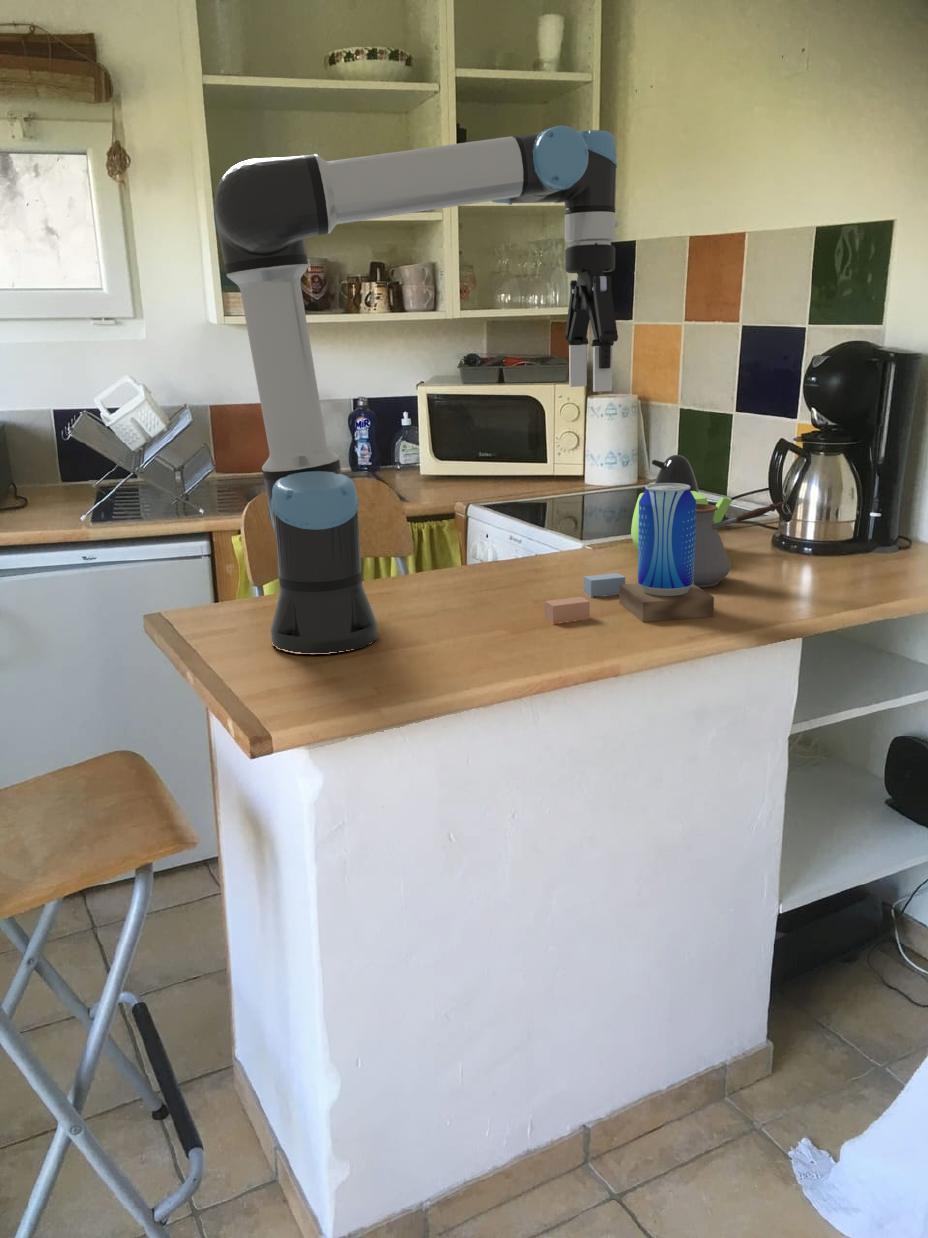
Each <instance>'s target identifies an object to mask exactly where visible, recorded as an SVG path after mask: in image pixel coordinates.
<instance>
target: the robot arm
mask: <svg viewBox="0 0 928 1238" xmlns="http://www.w3.org/2000/svg"><path fill="white" fill-rule="evenodd" d="M617 168H618V163H617V148H616V138H615V136H614V135H613V134H612V133H611V132H610V131H606V130H600V129H599V130H598V129H592V130H576V129H575V128H573V127H570V126H569V125H568V126H567V125H557V126H550V127H547V128H545V129H544V130H542V131H539V132H534V133H526V134H520V135H515V136H505V137H504V136H503V137H497V138H490V139H483V140H475V141H468V142H460V143H453V144H452V143H451V144H445V145H437V146H430V147H424V148H416V149H408V150H403V151H393V152H386V153H380V154H372V155H365V156H358V157H356V156H355V157H352V158H351V157H349V158H343V159H335V160H334V159H333V160H329V161H328V160H325V159H323V158H322V157H321V156H319V155H318V154H317V153H314V154H306V155H297V156H282V157H261V158H259V157H258V158H250V159H247V160H244V161H240V162H238V163H237V164H236V163H235V165H233V166H231V167H230V168H229V169H228V170H227V171H226V172H225V173H224V174H223V176H222V177H221V178H220V181H219V182H218V185H217V187H216V191H215V196H214V207H213V208H214V209H213V219H214V223H215V224H214V225H215V229H216V231H217V234H218V236H219V242H220V249H221V251H222V252H221V253H222V258H223V265H224V269H225V270H224V271H225V275H226V277H227V278H228V279H229V280H231V282H233V283H234V284H236V286H238V288H239V290H240V295H241V296H240V297H241V301H242V307H243V312H244V313H243V314H244V318H245V324H246V328H247V329H246V330H247V334H248V335H247V336H248V340H249V345H250V346H249V347H250V352H251V356H252V362H253V368H254V374H255V380H256V385H257V390H258V397H259V401H260V407H261V413H262V418H263V419H262V420H263V423H264V429H265V434H266V435H265V436H266V440H267V446H268V452H269V455H268V458H267V459H266V461H265V462H264V463H263V465H262V466H261V469H262V470H261V471H262V474H263V475H262V477H263V481H264V486H265V494H266V498H267V513H268V517H269V520H270V523H271V525H272V528H273V530H274V531H273V532H274V537H275V547H276V557H277V568H278V569H277V571H278V580H279V592H278V593H279V594H278V598H277V602H276V606H275V611H274V614H273V619H272V623H271V627H270V628H271V629H270V634H271V635H270V637H271V643H272V642H273V644H274V645H275V646H277V647H278V648H280V649H285V650H288V651H293V652H301V653H329V652H339V651H346V650H351V649H357V650H359V649H358V648H360V649H362V648H361V647H363V646H365V647H367V646H366V645H368V644H369V643H371V642H373V641H374V640H375V639H376V638H377V639H378V637H377V634H379V633H378V622H377V618H376V616H375V614H374V611H373V609H372V606H371V602H370V601H369V599H368V596H367V594H366V592H365V589H364V585H363V576H362V558H361V540H360V528H359V527H360V526H359V525H360V524H359V511H358V510H359V503H360V501H359V500H360V499H359V496H358V494H357V488H356V484H355V482H354V481H353V480H352V479H351V478H350V477H349V476H347V475H345V474H342V468H341V462H340V461H341V459H340V456H339V455H338V454H337V453H336V452H334V451H333V450H331V449H330V448H329V446H328V444H327V438H326V433H325V427H324V425H325V424H324V420H323V414H322V409H321V400H320V396H319V390H318V382H317V378H316V371H315V364H314V359H313V352H312V346H311V340H310V335H309V328H308V323H307V316H306V309H305V303H304V298H303V291H302V285H301V278H302V277H303V275H304V274H305V273H306V271H307V270H308V268H309V262H308V255H307V250H306V249H307V248H306V243H305V239H307V238H311V237H316V236H321V235H328V234H331V232H333V230H334V228H335V227H336V226H337V225H341V224H347V223H354V222H359V221H360V222H362V221H366V220H374V219H379V218H380V219H381V218H387V217H394V216H400V215H405V214H414V213H419V212H426V211H433V210H434V211H435V210H439V209H445V208H446V209H447V208H453V207H460V206H466V205H472V204H474V205H475V204H479V203H486V202H492V203H496V204H497V203H499V204H508V205H512V204H536V203H537V204H540V203H541V204H542V203H555V204H557V203H560V204H561V203H564V242H565V243H566V244H568V246H567V247H566V249H564V251H565V252H564V256H565V257H564V259H565V260H564V263H565V264H564V266H565V267H564V268H565V269H564V270H565V272H566V273H568V274H577V278H576V279H577V280H575V279H573V280H570V284H569V285H570V288H569V289H570V291H569V301H568V302H569V303H568V308H567V309H568V310H567V317H566V318H567V319H566V326H565V335H564V339H565V341H566V342H567V343H568V349H569V350H568V352H569V353H568V354H569V355H568V356H569V357H568V359H569V361H568V362H569V363H568V365H569V366H568V368H569V369H568V370H569V371H568V374H569V375H568V378H569V379H568V381H569V382H568V387H569V388H573V387H575V388H576V387H577V388H579V387H588V386H587V385H588V381H587V380H588V378H587V376H588V375H587V372H588V369H587V365H588V364H587V363H588V361H587V360H588V357H587V355H588V353H587V351H588V348H587V347H588V346H587V345H589V343H590V342H589V339H588V337H587V334H588V329H589V325H590V324H591V330H592V334H593V338H594V339H592V342H591V344H590V346H591V347H593V348H592V350H593V351H592V353H593V354H592V355H593V357H592V359H593V360H592V364H593V365H592V374H593V375H592V376H593V377H592V384H593V385H592V386H593V387H592V392H593V393H596V392H599V393H600V392H612V391H613V347H614V345H615V344H614V343H615V342H617V341H618V340H619V335H618V329H617V320H616V314H615V306H614V299H613V291H612V280H613V279H612V277H611V275H604V273H609V272H610V273H611V272H613V271H615V269H616V247H615V246H614V245H612V242H614V241H615V240H616V228H618V227H619V221H618V220H616V189H617V188H616V187H617ZM377 639H376V640H377ZM376 640H375V641H376ZM375 641H374V642H375ZM374 642H373V643H374ZM371 644H372V643H371ZM368 646H369V645H368ZM363 648H364V647H363Z"/></svg>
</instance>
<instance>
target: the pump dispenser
mask: <svg viewBox="0 0 928 1238" xmlns="http://www.w3.org/2000/svg"><path fill="white" fill-rule="evenodd" d="M651 465H653V466H655V467H657V468H659V470H658V473H657V476H656V479H655V482H654V484H657V483H680V484H686V485H689V486H690V487H691V488H690V491H695V492H698V493H699V488H698V483H697V480H696V477H695V475H696V474H694V470H693V468H692V466H691V464H690V462H689V460H688V459H687V458H686V457H685V456H683V455H681V454H680V455H679V454H674V455H671V456H668V457H667V458H666V459H665V460H664V462H663V461H660V460H657V459H653V460H652V461H651Z"/></svg>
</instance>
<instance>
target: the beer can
mask: <svg viewBox="0 0 928 1238" xmlns="http://www.w3.org/2000/svg"><path fill="white" fill-rule="evenodd" d="M690 488H691V487H690V486H689V485H686V484H680V483H657V484H655V483H652V484H647V485H645V491H644V492H643V493H644V494H643V496H642V497H641V499H640V501H639V531H638V550H637V552H638V553H637V583H638V584H639V585H640V586H641V587H642V590H643V592H645V593H647V594H651V595H656V596H677V595H683V594H685V593H687V592H688V591H689V589H690V587H691V586H692V585H693V584H694V562H695V530H696V500H695V498H694V496H693V494H692V493H691V491H690Z"/></svg>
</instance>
